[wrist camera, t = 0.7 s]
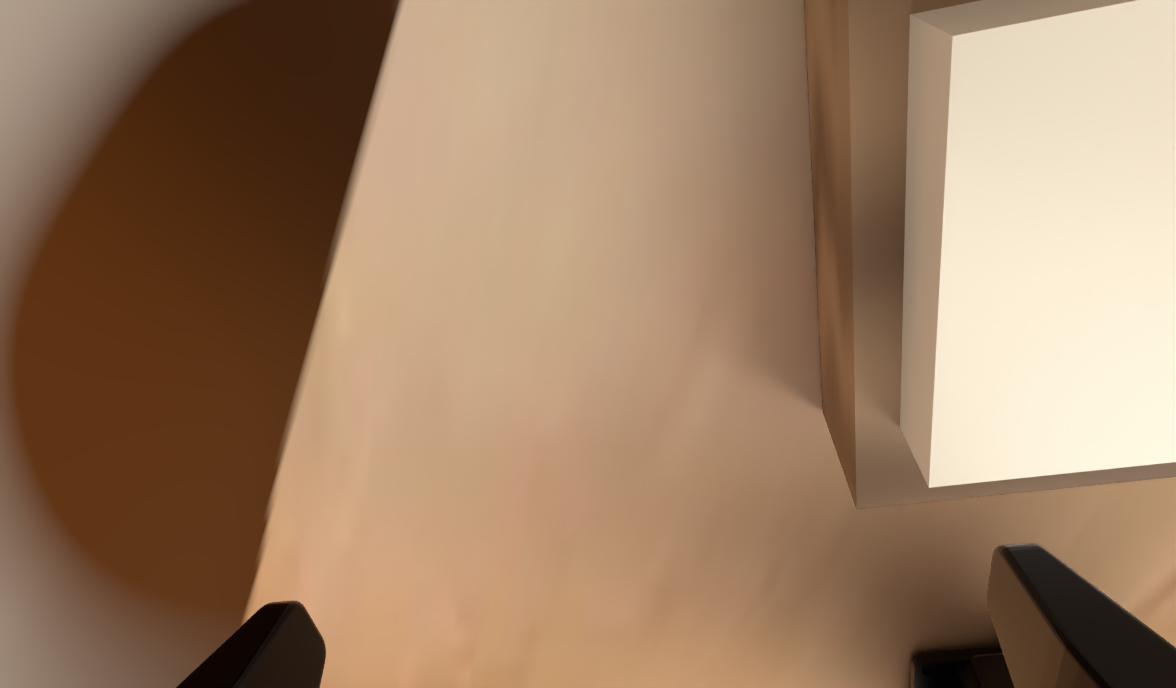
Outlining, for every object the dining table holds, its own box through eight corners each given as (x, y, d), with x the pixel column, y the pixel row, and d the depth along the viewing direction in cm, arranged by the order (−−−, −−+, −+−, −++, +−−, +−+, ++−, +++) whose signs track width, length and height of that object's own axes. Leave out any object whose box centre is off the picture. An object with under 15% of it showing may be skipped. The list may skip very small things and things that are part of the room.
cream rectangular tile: (1185, 394, 16) (1249, 453, 14) (900, 427, 17) (928, 487, 15) (1311, -66, 11) (1427, -57, 10) (909, 14, 12) (952, 36, 11)
